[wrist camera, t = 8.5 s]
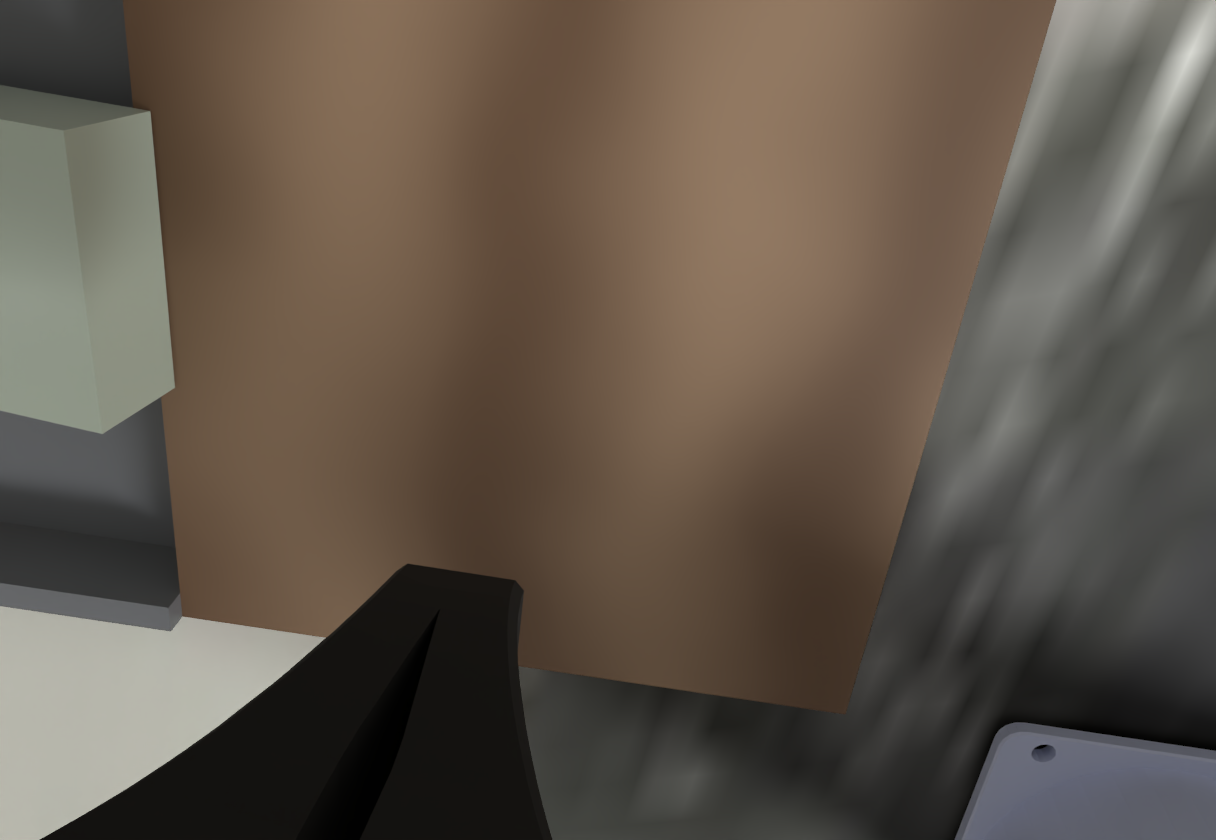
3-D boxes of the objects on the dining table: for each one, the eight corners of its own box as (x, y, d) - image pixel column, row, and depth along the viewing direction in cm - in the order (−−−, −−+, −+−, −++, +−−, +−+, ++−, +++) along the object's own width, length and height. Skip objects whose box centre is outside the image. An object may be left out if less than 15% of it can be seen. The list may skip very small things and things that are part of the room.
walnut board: (1061, -169, 15) (1109, -181, 13) (833, 651, 22) (845, 714, 21) (162, -282, 15) (92, -309, 14) (223, 562, 23) (182, 616, 21)
